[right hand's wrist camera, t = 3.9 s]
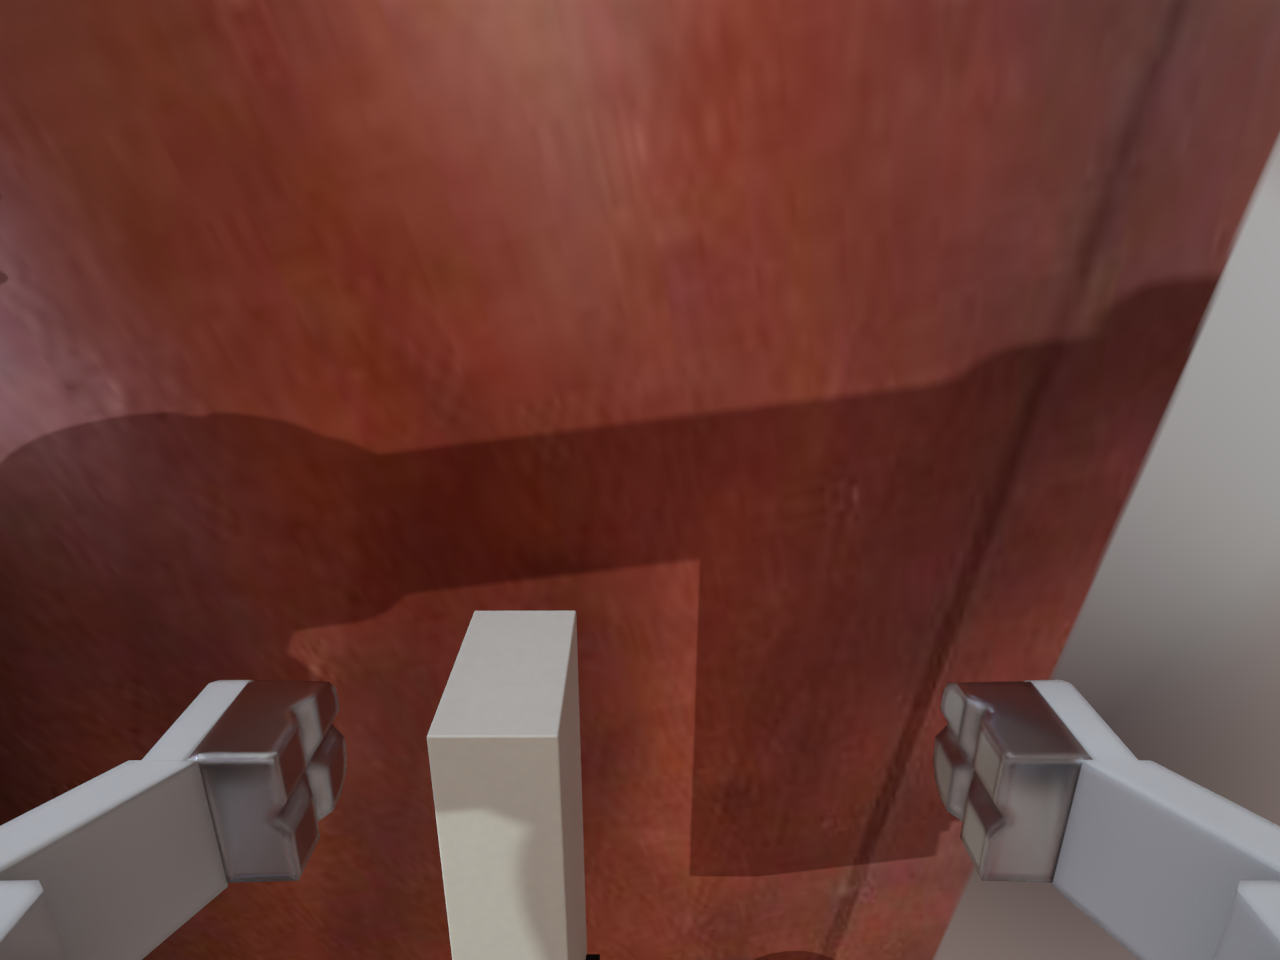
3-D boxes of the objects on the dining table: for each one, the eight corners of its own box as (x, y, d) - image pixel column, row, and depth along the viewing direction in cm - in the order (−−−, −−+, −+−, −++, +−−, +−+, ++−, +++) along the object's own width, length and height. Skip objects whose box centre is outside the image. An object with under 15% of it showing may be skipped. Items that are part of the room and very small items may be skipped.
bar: (474, 609, 36) (425, 736, 28) (576, 609, 36) (558, 736, 28) (508, 1015, 46) (479, 1200, 38) (589, 1015, 46) (578, 1199, 38)
